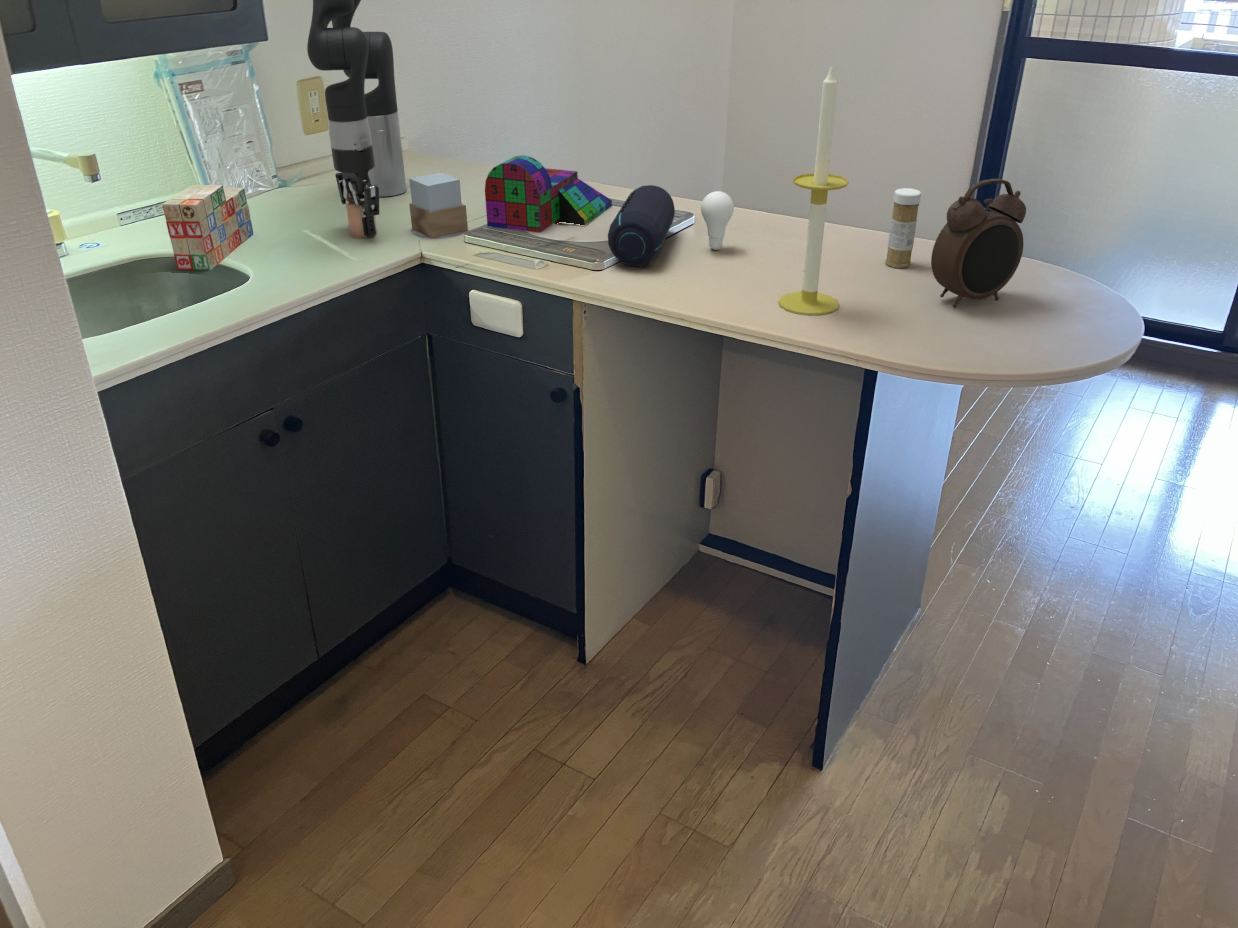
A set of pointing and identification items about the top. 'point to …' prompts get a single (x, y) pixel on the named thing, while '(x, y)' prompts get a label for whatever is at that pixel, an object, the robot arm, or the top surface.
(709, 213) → the lightbulb
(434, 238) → the slate coaster
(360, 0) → the robot arm
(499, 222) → the numbered checker block
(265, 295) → the top surface
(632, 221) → the portable speaker
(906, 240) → the sprinkles bottle
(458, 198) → the grey-blue top block
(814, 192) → the candle
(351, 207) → the peach rounded cylinder
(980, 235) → the alarm clock
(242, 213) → the stack of blocks
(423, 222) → the walnut base block
